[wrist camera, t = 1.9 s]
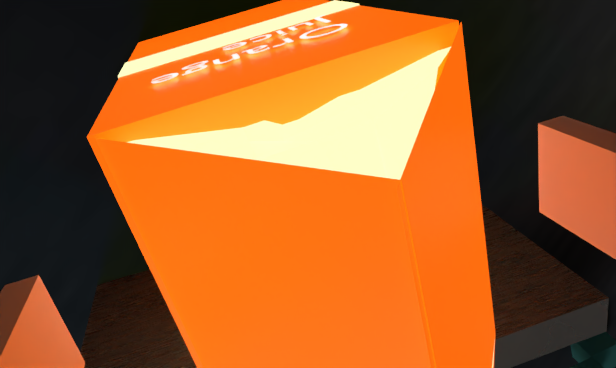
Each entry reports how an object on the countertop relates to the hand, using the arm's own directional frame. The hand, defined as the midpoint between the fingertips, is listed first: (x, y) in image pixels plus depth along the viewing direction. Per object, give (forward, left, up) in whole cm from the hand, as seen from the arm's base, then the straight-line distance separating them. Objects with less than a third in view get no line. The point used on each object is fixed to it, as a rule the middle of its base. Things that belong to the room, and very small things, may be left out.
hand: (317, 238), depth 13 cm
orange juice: (0, 0, -13) cm, 13 cm away
